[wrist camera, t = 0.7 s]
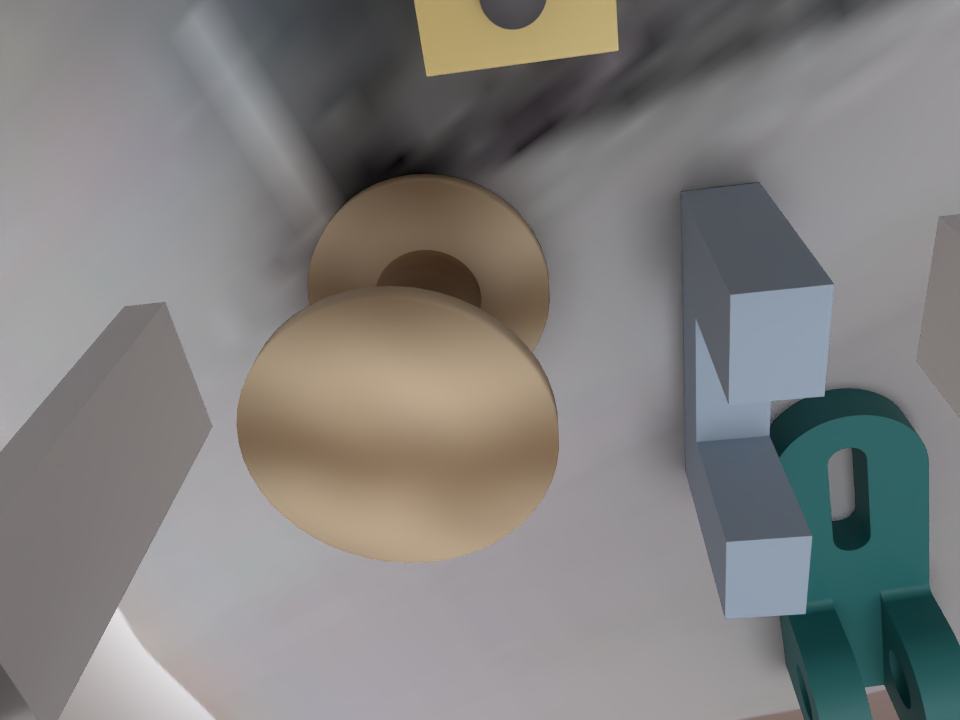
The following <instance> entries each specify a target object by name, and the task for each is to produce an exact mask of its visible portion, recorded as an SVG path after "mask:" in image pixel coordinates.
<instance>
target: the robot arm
mask: <svg viewBox="0 0 960 720" xmlns="http://www.w3.org/2000/svg"><path fill="white" fill-rule="evenodd" d="M916 362H917V363H918V364H919V365H920V367H921V368H922V369H923V371H924V372H925V373H926V375H927V376H928V377H929V379H930V380H931V381H932V382H933V384H934V385H935V386H936V388H937V389H938V390H939V392H940V393H941V394H942V396H943V397H944V398H945V399H946V401H947V402H948V403H949V405H950V406H951V407H952V409H953V410H954V411H955V413H956V414H957V415H958V417H959V418H960V214H958V215H949V216H940V217H939V218H938V225H937V231H936V238H935V244H934V250H933V257H932V263H931V270H930V276H929V282H928V289H927V295H926V302H925V308H924V314H923V321H922V327H921V334H920V340H919V346H918V353H917V359H916ZM211 428H212V424H211V421H210V419H209V416H208V413H207V411H206V408H205V405H204V403H203V400H202V398H201V395H200V392H199V390H198V387H197V384H196V382H195V379H194V377H193V374H192V371H191V369H190V366H189V363H188V361H187V358H186V356H185V353H184V350H183V348H182V345H181V342H180V340H179V337H178V335H177V332H176V329H175V327H174V324H173V321H172V319H171V316H170V314H169V311H168V308H167V306H166V303H165V302H161V303H152V304H143V305H134V306H125V307H124V308H123V309H122V310H121V311H120V312H119V314H118V315H117V316H116V317H115V318H114V319H113V321H112V322H111V323H110V324H109V325H108V326H107V328H106V329H105V330H104V331H103V332H102V334H101V335H100V336H99V337H98V338H97V339H96V341H95V342H94V343H93V344H92V345H91V346H90V348H89V349H88V350H87V351H86V352H85V353H84V355H83V356H82V357H81V358H80V359H79V360H78V362H77V363H76V364H75V365H74V366H73V368H72V369H71V370H70V371H69V372H68V373H67V375H66V376H65V377H64V378H63V379H62V380H61V382H60V383H59V384H58V385H57V386H56V387H55V389H54V390H53V391H52V392H51V393H50V394H49V396H48V397H47V398H46V399H45V400H44V402H43V403H42V404H41V405H40V406H39V407H38V409H37V410H36V411H35V412H34V413H33V414H32V416H31V417H30V418H29V419H28V420H27V421H26V423H25V424H24V425H23V426H22V427H21V428H20V430H19V431H18V432H17V433H16V434H15V435H14V437H13V438H12V439H11V440H10V441H9V443H8V444H7V445H6V446H5V447H4V448H3V450H2V451H1V452H0V720H58V718H59V717H60V715H61V713H62V711H63V709H64V707H65V705H66V703H67V702H68V699H69V698H70V696H71V694H72V692H73V690H74V688H75V686H76V684H77V683H78V681H79V679H80V677H81V675H82V673H83V671H84V669H85V667H86V666H87V664H88V662H89V660H90V658H91V656H92V654H93V652H94V650H95V648H96V646H97V645H98V643H99V641H100V639H101V637H102V635H103V633H104V631H105V629H106V627H107V626H108V624H109V622H110V620H111V618H112V616H113V614H114V612H115V610H116V609H117V607H118V605H119V603H120V601H121V599H122V597H123V595H124V593H125V592H126V590H127V588H128V586H129V584H130V582H131V580H132V578H133V576H134V574H135V573H136V571H137V569H138V567H139V565H140V563H141V561H142V559H143V557H144V555H145V554H146V552H147V550H148V548H149V546H150V544H151V542H152V540H153V538H154V537H155V535H156V533H157V531H158V529H159V527H160V525H161V523H162V521H163V519H164V518H165V516H166V514H167V512H168V510H169V508H170V506H171V504H172V502H173V500H174V499H175V497H176V495H177V493H178V491H179V489H180V487H181V485H182V483H183V481H184V480H185V478H186V476H187V474H188V472H189V470H190V468H191V466H192V464H193V463H194V461H195V459H196V457H197V455H198V453H199V451H200V449H201V447H202V445H203V444H204V442H205V440H206V438H207V436H208V434H209V432H210V430H211Z"/></svg>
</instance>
